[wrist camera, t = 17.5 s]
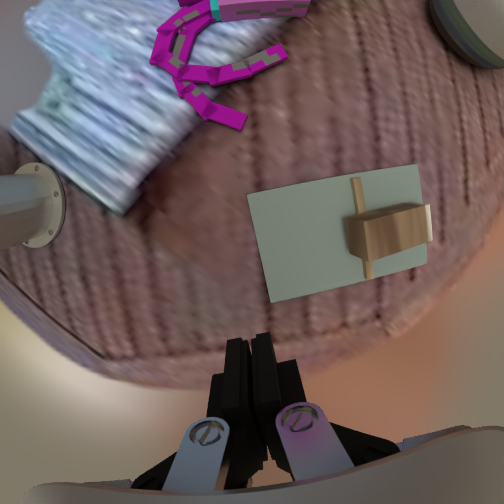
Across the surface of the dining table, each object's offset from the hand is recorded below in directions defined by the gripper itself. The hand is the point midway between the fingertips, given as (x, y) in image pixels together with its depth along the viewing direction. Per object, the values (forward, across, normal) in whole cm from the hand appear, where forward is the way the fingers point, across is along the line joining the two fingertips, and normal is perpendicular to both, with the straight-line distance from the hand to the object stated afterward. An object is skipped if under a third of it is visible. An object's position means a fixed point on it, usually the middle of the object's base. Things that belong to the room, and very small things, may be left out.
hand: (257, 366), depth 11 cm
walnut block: (+22, -12, +2) cm, 25 cm away
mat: (+27, -12, +2) cm, 29 cm away
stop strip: (+26, -14, +2) cm, 30 cm away
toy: (+27, -3, -26) cm, 38 cm away
